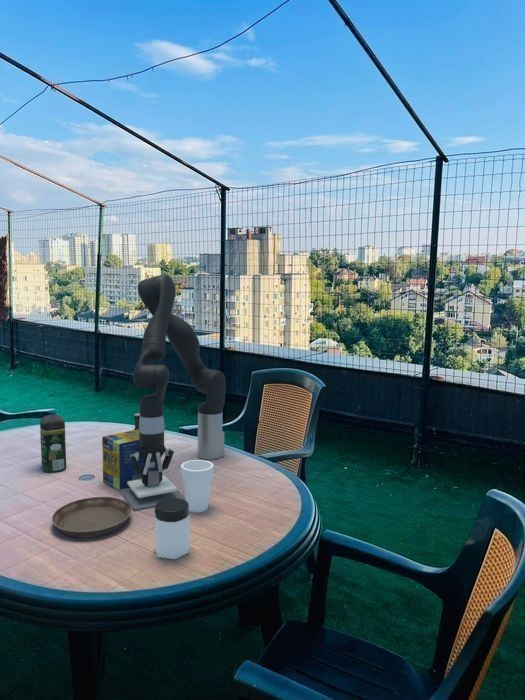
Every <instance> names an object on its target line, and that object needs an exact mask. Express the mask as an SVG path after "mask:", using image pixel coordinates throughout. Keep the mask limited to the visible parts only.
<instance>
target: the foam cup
mask: <svg viewBox="0 0 525 700" xmlns="http://www.w3.org/2000/svg"><path fill="white" fill-rule="evenodd" d="M214 468H215V465H214V463H213V462H211V461H209V460H206V459H193V460H187V461H184V462H182V464H180V475H181V478H182V487H183V496H184V497H185V501H187V502H188V504H189V513H202V512H205V511H207V510H208V508H209V503H210V495H211V489H212V483H213V482H212V481H213V475H214V473H215V471H214Z"/></svg>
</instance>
